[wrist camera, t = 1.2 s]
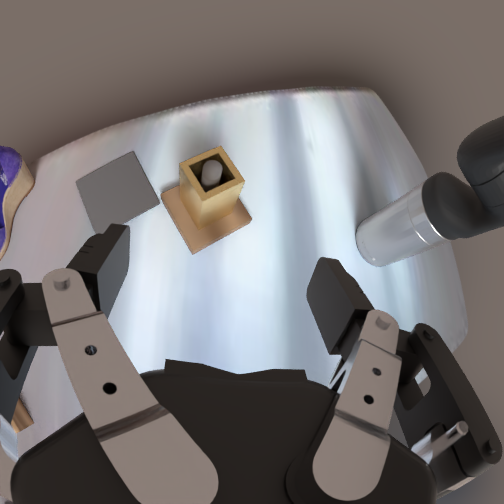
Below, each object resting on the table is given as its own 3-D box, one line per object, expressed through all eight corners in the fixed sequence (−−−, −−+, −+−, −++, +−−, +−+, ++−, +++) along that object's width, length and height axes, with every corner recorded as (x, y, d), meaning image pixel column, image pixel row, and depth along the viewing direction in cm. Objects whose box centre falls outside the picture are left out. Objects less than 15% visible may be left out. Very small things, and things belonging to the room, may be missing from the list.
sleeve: (212, 183, 42) (220, 145, 33) (231, 213, 42) (245, 180, 32) (180, 199, 40) (179, 163, 31) (198, 230, 40) (202, 201, 30)
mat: (133, 152, 43) (132, 151, 42) (159, 203, 42) (159, 202, 41) (76, 183, 39) (75, 181, 39) (98, 238, 38) (97, 237, 38)
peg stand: (216, 173, 45) (228, 123, 33) (249, 223, 44) (272, 185, 32) (161, 199, 42) (154, 154, 30) (192, 254, 41) (194, 225, 29)
